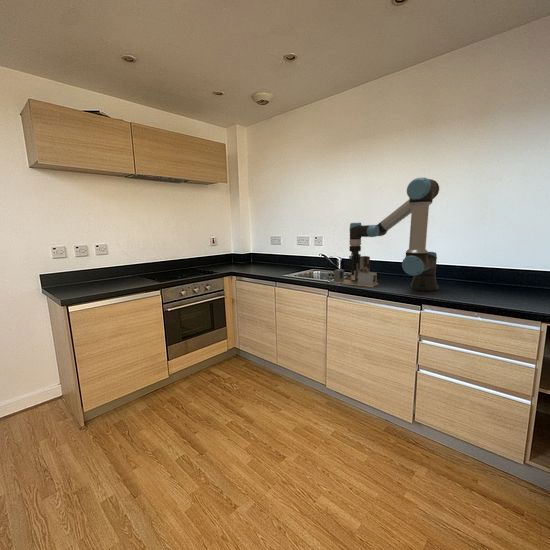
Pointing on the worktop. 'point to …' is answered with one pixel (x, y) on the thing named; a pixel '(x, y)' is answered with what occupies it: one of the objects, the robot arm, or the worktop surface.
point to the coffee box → (364, 264)
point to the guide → (363, 280)
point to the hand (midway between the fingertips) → (354, 279)
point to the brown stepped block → (355, 274)
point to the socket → (339, 275)
